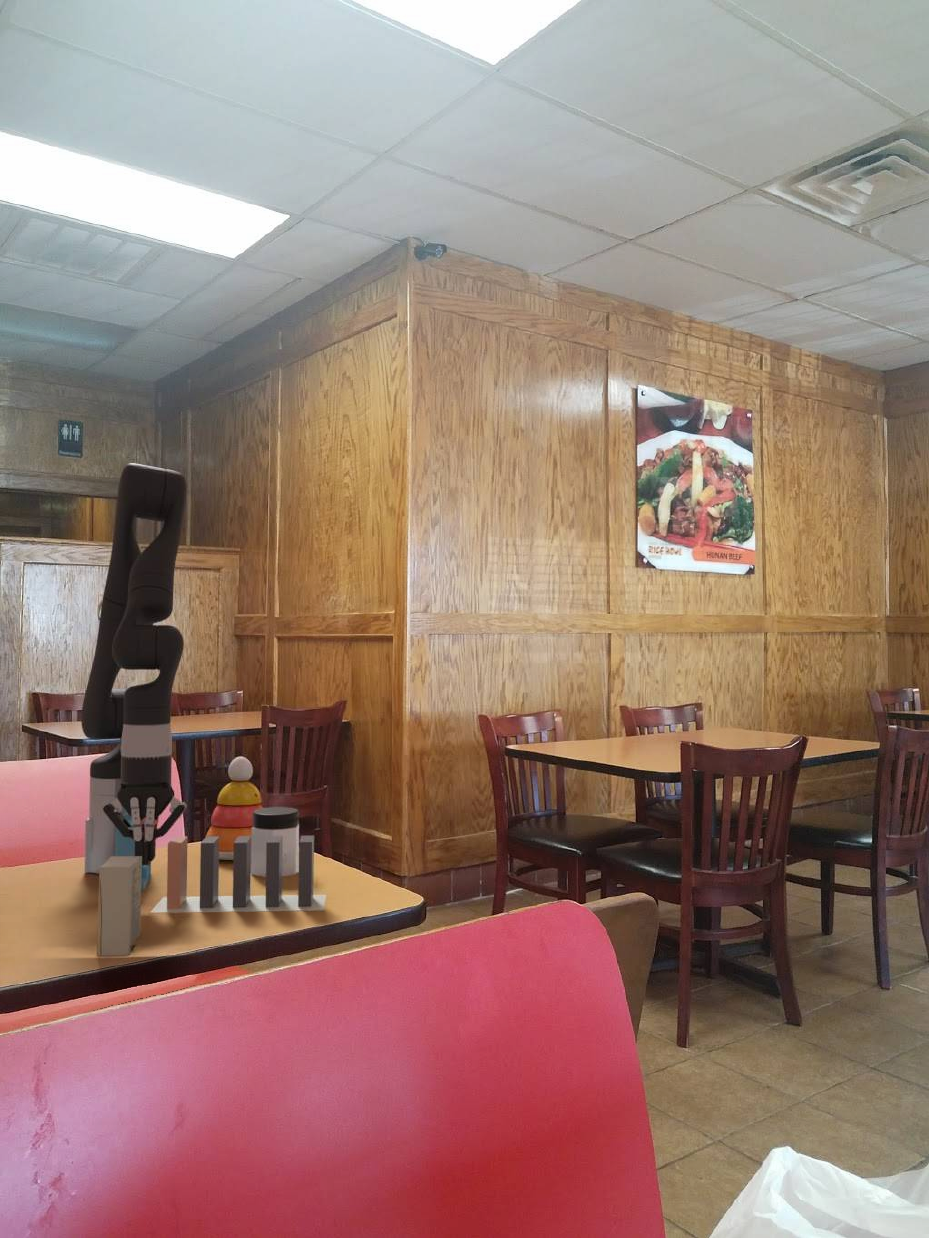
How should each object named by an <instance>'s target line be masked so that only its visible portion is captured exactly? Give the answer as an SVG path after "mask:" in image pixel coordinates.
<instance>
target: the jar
mask: <svg viewBox="0 0 929 1238" xmlns="http://www.w3.org/2000/svg"><path fill="white" fill-rule="evenodd" d="M299 820H300V811H299V809H297V808H295V807H294V808H293V807H287V806H286V807H285V806H271V807H269V806H268V807H263V808H261V809H257V810H254V811H253V828H252V842H251V873H250V876H251V875H252V876H257V877H258V876H259V877H263V878H266V842H267V841H268V839H269V837H270V836H283V849H282V877H285V876H286V877H287V876H294V875H297V873H298V874H299V841H300V830H299V829H300V823H299Z"/></svg>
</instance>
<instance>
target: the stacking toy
mask: <svg viewBox="0 0 929 1238" xmlns="http://www.w3.org/2000/svg"><path fill="white" fill-rule="evenodd" d="M227 771H228V772H227V774H228V776H229V778H230V780H232V781H231V782H230V783H227V784H226V785H225V786H223V788H222V789H221V790H220V791H219V794H218V796H217V800H216V803H217V805H216V807H215V808H214V810H213V812H212V814H211V818H210V824H211V826H210V827H209V829H208V831H207V833H206V835H205V838H206V837H209V836H219V860H221V861H222V860H223V861H233V857H234V842H235V840H236V839H237V837H238V836H251V842H252V828H253V811H254V810H257V809H261V808H264V807H263V805H262V804H261V803H262V796H261V793H260V791H259V789H258V788H257V786H255V785H254V784H253V783H251V782H250V781H249V780H250V779H251V778H252V776H253V772H254V768H253V765H252V763H251V761H250V760H248V758H246V757H244V756H237V757H235V758H233V760H232V761H231V762H230V764H229V766H228V769H227Z"/></svg>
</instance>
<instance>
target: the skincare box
mask: <svg viewBox="0 0 929 1238" xmlns="http://www.w3.org/2000/svg"><path fill="white" fill-rule="evenodd" d="M98 875H99V876H98V879H99V880H98V901H97V903H98V906H97V907H98V908H97V933H96V934H97V935H96V936H97V940H96V941H97V942H96V956H97V957H118V956H119V957H128V956H129V955H131V953H133V951H134V950H135V948H136V947H137V946H138V945H137V944H135V945H134V942H136V940H137V939H138V937H139V936H140V934H141V913H142V912H141V906H142V903H141V902H142V891H141V877H142V856H111V857H110V858H109V859H108V860H106V861H105V862H104V863H103V864H102V865H101V866H100V870H99V874H98Z"/></svg>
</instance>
